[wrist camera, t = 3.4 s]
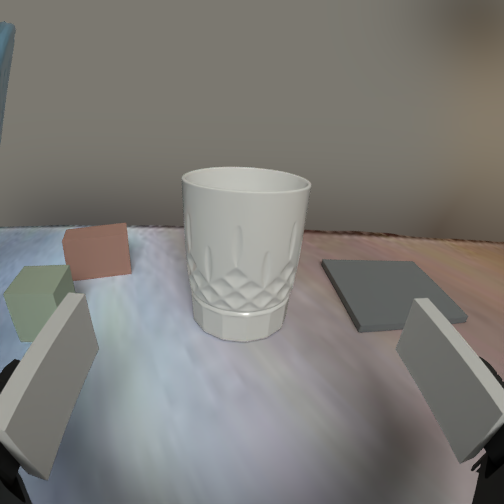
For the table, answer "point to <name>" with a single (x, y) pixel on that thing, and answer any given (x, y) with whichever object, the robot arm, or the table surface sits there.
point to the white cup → (242, 247)
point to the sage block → (37, 297)
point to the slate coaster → (386, 292)
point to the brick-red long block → (97, 251)
